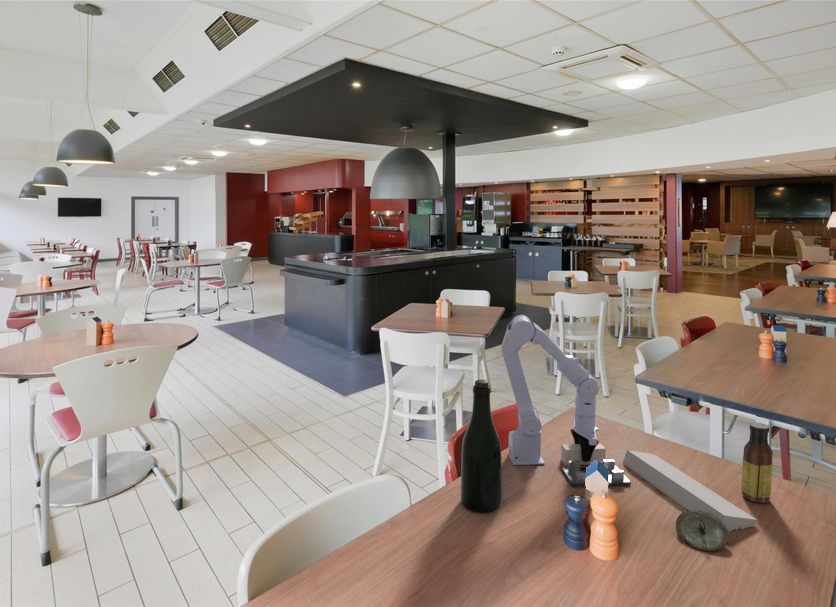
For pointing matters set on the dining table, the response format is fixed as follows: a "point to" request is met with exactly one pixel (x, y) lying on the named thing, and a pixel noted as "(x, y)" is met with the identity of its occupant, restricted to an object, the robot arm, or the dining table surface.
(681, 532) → the lid
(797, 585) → the dining table surface
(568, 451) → the cream rectangular block
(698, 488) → the long grey wedge ramp
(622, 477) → the rack
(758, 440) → the sauce bottle
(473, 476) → the dark green wine bottle
